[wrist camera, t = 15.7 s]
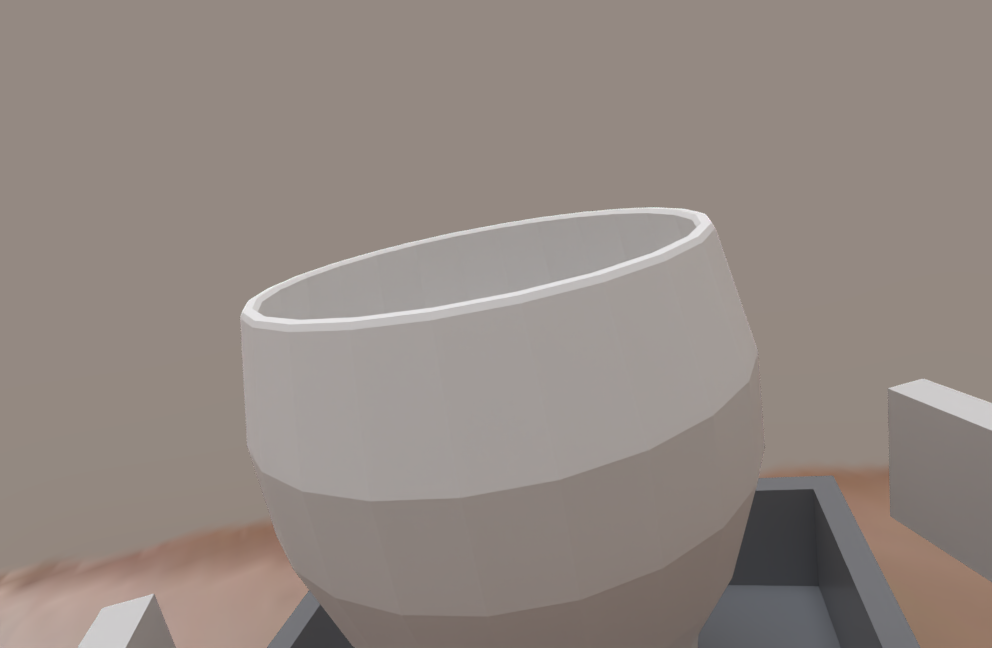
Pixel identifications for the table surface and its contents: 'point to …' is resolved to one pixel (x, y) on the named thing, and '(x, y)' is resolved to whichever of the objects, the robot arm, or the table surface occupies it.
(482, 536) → the white ceramic vase
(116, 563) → the table surface
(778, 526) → the bin
